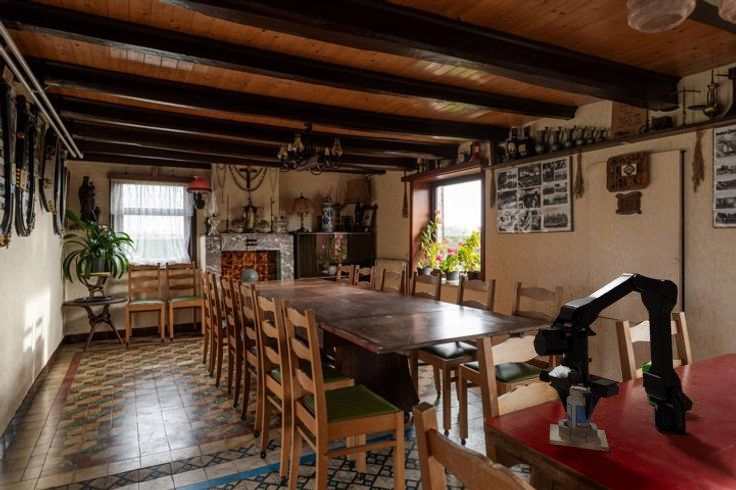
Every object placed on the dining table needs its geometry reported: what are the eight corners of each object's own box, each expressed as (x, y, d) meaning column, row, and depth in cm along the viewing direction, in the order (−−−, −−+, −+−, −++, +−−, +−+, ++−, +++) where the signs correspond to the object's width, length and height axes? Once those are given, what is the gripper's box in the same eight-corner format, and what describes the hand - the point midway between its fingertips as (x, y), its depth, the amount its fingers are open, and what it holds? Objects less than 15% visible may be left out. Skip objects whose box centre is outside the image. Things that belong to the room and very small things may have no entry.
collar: (604, 434, 121) (604, 420, 121) (608, 451, 111) (608, 436, 111) (550, 427, 126) (550, 414, 126) (549, 443, 115) (549, 429, 115)
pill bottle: (594, 427, 118) (594, 388, 118) (585, 433, 115) (585, 393, 114) (572, 421, 122) (572, 384, 122) (563, 427, 119) (563, 388, 118)
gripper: (524, 351, 122) (526, 411, 122) (592, 366, 106) (594, 435, 106) (551, 346, 128) (552, 403, 128) (619, 359, 112) (620, 424, 112)
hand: (577, 415), depth 118 cm, fingers closed on pill bottle, 5 cm apart
